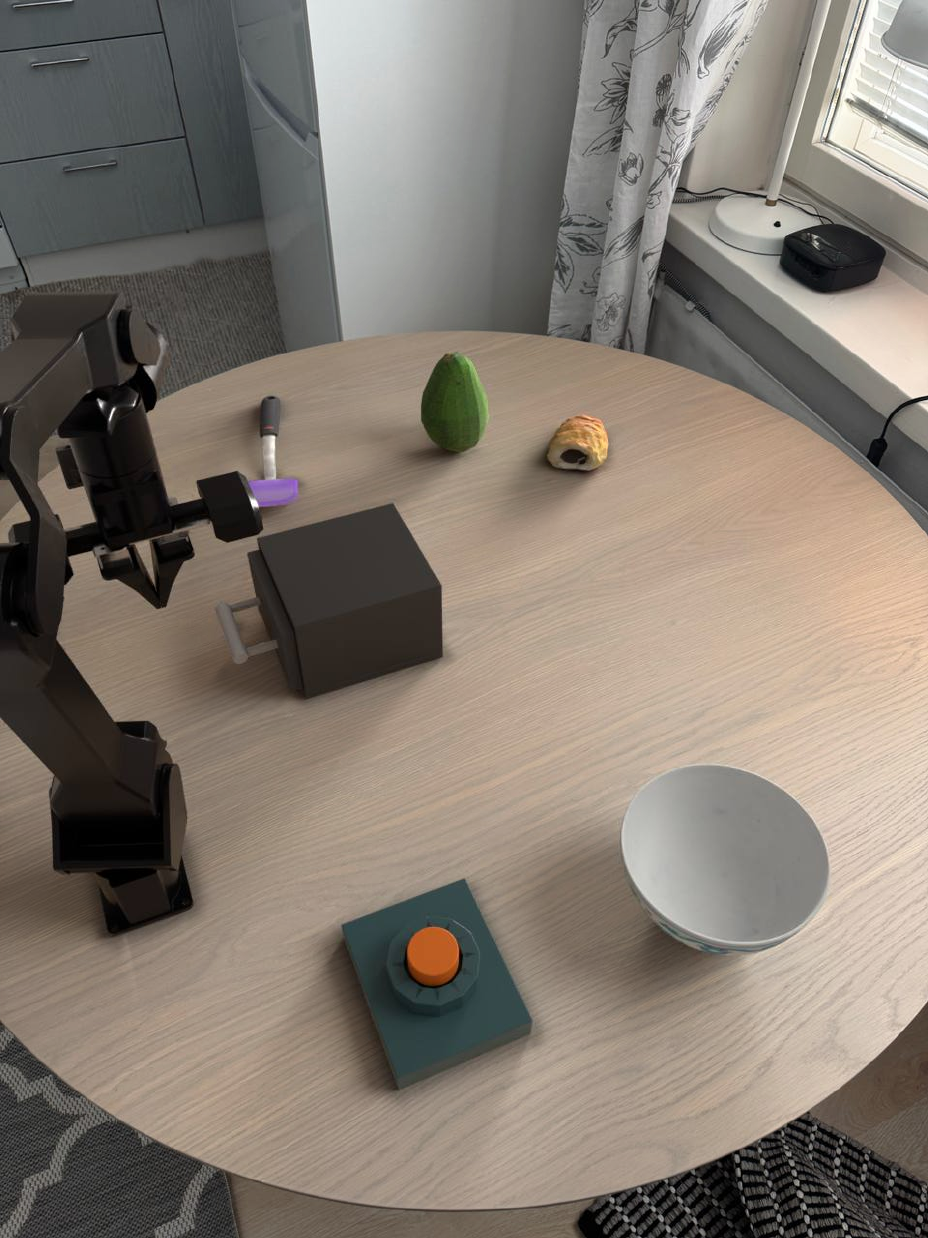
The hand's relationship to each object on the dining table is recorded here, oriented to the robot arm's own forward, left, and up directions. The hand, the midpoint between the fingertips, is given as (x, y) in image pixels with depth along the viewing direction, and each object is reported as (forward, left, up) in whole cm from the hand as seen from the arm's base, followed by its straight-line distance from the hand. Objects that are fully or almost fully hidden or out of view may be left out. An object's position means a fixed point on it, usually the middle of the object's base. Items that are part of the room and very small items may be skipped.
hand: (160, 604), depth 85 cm
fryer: (+1, -17, -11) cm, 20 cm away
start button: (-35, -11, -7) cm, 38 cm away
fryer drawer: (+1, -13, -10) cm, 16 cm away
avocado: (+26, -38, -11) cm, 47 cm away
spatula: (+32, -17, -11) cm, 38 cm away
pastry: (+19, -51, -11) cm, 55 cm away
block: (-35, -11, -11) cm, 38 cm away
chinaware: (-37, -33, -11) cm, 51 cm away
